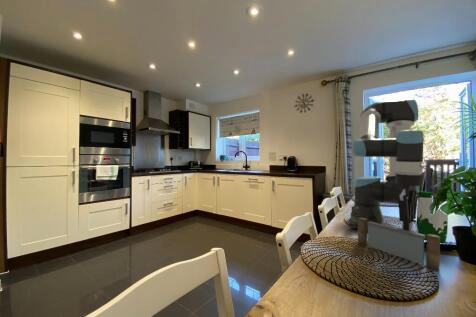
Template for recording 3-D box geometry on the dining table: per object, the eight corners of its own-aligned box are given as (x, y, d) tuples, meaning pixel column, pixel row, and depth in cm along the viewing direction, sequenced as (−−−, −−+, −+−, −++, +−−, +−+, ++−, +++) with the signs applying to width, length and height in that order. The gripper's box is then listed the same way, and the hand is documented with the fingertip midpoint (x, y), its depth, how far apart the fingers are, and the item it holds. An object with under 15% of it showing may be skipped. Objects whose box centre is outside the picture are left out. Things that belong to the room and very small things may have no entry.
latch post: (427, 265, 67) (428, 233, 67) (440, 269, 65) (441, 236, 65) (424, 267, 65) (425, 235, 65) (437, 272, 63) (438, 238, 63)
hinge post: (360, 242, 84) (360, 217, 84) (368, 245, 82) (368, 219, 82) (356, 244, 82) (356, 218, 82) (364, 247, 80) (364, 220, 80)
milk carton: (415, 236, 91) (416, 189, 91) (444, 241, 86) (446, 192, 86) (417, 242, 84) (418, 192, 84) (448, 249, 79) (450, 195, 79)
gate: (366, 245, 80) (367, 222, 80) (369, 244, 81) (369, 221, 81) (422, 264, 66) (423, 236, 66) (424, 263, 67) (425, 234, 67)
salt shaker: (364, 232, 95) (364, 206, 95) (349, 231, 96) (350, 205, 96) (359, 228, 101) (359, 203, 100) (345, 227, 102) (346, 202, 101)
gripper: (415, 175, 69) (413, 248, 69) (428, 173, 76) (426, 239, 76) (388, 173, 75) (387, 240, 75) (403, 172, 82) (401, 233, 83)
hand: (407, 239), depth 76 cm, fingers closed
